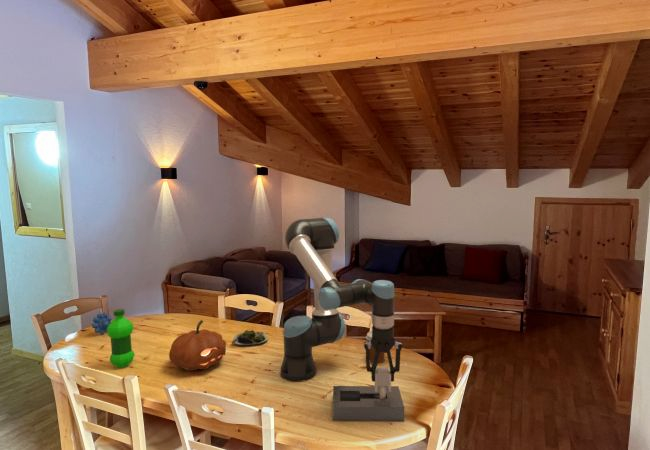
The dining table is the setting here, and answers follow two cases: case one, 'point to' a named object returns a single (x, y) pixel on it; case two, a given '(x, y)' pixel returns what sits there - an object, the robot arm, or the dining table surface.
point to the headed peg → (382, 380)
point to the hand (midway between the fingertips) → (382, 389)
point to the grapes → (101, 323)
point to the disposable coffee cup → (372, 350)
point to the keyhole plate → (367, 404)
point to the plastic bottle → (120, 340)
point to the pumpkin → (197, 349)
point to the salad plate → (250, 339)
